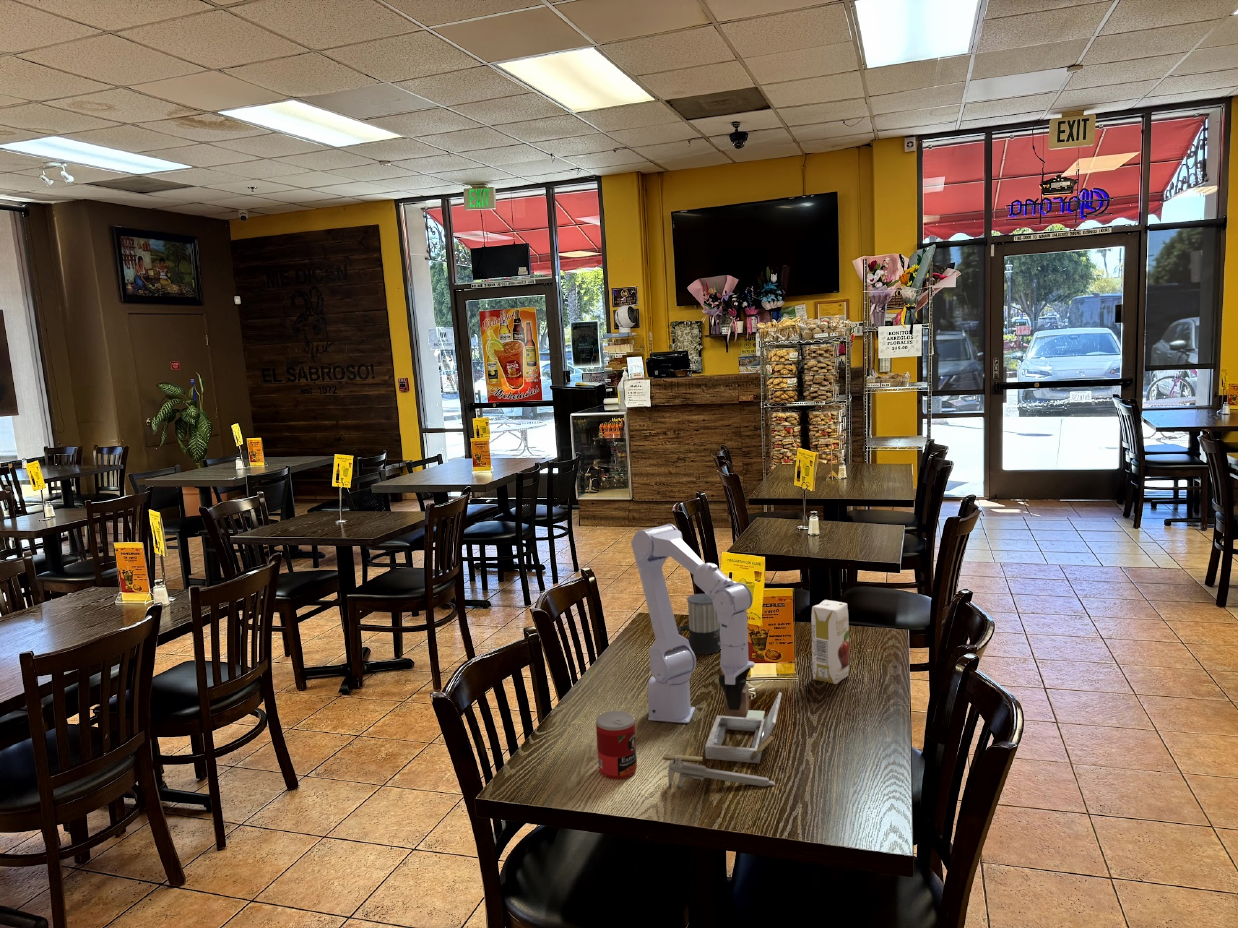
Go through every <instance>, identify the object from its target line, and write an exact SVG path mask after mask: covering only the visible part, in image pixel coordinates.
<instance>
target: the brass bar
mask: <svg viewBox="0 0 1238 928" xmlns="http://www.w3.org/2000/svg"><path fill="white" fill-rule="evenodd" d="M675 756H676V759H677V761H678V759H679V758H680V757H681V758H682V760H681V761H687V762H688V761H691V762H703V761H704V760H703V759H704V757H703V756H695V755H684V754H683V755H681V754H668V753H664V754H663V759H664V760H665V759H666V760H674V757H675Z"/></svg>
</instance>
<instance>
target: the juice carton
mask: <svg viewBox="0 0 1238 928" xmlns="http://www.w3.org/2000/svg"><path fill="white" fill-rule="evenodd" d="M810 616H811V620H810V621H811V655H812V658H811V660H812V662H811V663H812V665H811V666H812V675H813V680H815V681H819V682H823V681H824V683H827V682H828V683H829V684H833V685H838V684H839V683H841V681H842V680H844V679H846V678H847V677H848V675H849V670H850V644H849V643H850V640H849V639H850V636H849V634H850V633H849V632H850V631H849V609H848V602H847V603H846V602H842V601H837V600H829V599H824V600H822V601H821V602H820V603H819V604H815V605H813V606H811V615H810ZM828 683H827V684H828Z"/></svg>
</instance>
